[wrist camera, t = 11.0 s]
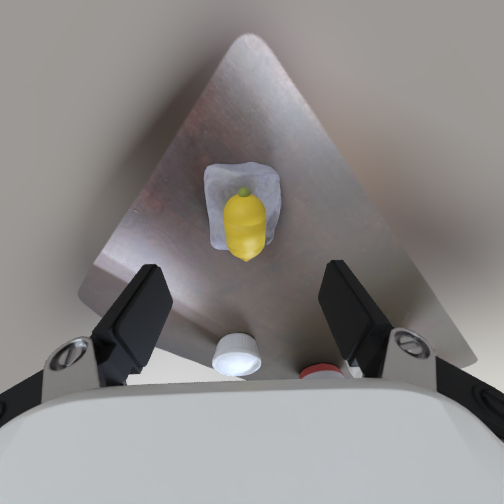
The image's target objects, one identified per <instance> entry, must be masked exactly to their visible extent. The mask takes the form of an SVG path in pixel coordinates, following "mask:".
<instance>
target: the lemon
mask: <svg viewBox="0 0 504 504" xmlns="http://www.w3.org/2000/svg"><path fill="white" fill-rule="evenodd" d="M223 220H224V229H225V237H226V244H227V247H228V249H229V250H230V252H231V253H232V254H233V255H235V256H236V257H238V258H242V260H244V261H249V260H250V259H251V258H253V257H255V256H257V255H258V254H259V253H260V252H261V251H262V249H263V247H264V245H265V235H266V210H265V207H264V205H263V203H262V201H261V200H260V199H259V198H258V197H256V196H255V195H252V194H250V192H249V190H248V189H247V188H246V187H242V188H240V189H239V191H238V194H237V195H235V196H233V197H232V198H230V199H229V200H228V202H227V203H226V205H225V207H224V211H223Z"/></svg>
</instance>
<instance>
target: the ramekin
mask: <svg viewBox="0 0 504 504" xmlns="http://www.w3.org/2000/svg"><path fill="white" fill-rule="evenodd" d="M212 366H213V368H214V369H215V370H216V371H217V372H219V373H222V374H225V375H229V376H242V375H247V374H251V373H253V372H255V371H256V370H258V369H259V368H260V366H261V358H260V356H259V352H258V347H257V343H256V341H255V340H254V339H253V338H252V337H251V336H249V335H247V334H243V333H232V334H228V335H226V336H224V337H223V338H222V339H221V340H220V341H219V342H218V345H217V348H216V352H215V355H214V357H213V360H212Z"/></svg>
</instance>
